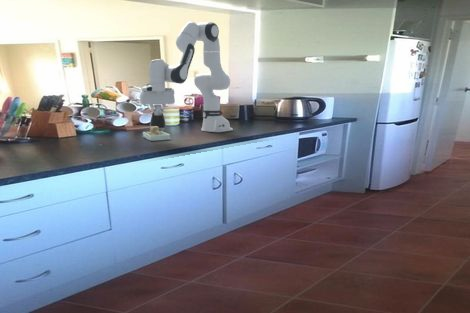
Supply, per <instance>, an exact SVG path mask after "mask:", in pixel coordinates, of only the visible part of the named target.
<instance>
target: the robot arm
mask: <svg viewBox="0 0 470 313" xmlns="http://www.w3.org/2000/svg"><path fill="white" fill-rule="evenodd" d="M219 32H220V30H219V27H218V25H217V23H215V22H213V21H211V22H207V21H206V22H205V21H202V22H198V23H196V22H194V21H187V22H186V24H185V25H184V26H183V27H182V29H181V30H180V32H179V33H178V35H177V36H176V40H175V45H176V47H177V49H178V50H179V51H180V52H182V56H181V59H180V61H179V63H178V64H176V65H170V64H168V63H166V62H165V60H164V59H162V58H158V59H157V58H156V59H152V60H150V61H149V67H148V68H149V69H148V72H149V73H148V74H149V83H148V85H144V86H142V87H141V89H140V90H141V92H140V95H139V102H140V105H149V108H150V109H151V113H153V112H155V109H154V105H161V112H162V113H164V112H165V108H166V107H167V106H166V105H174V104H175V101H176V99H175V90H174V88H172V87H166V83H174V84H180V85H181V84H183V83H185V82H186V80H187V79H188V75H189V70H190V67H191V64H192V62H193V58H194V54H195V51H196V50H195V49H196V48H195V45H196V44H197V42H198V41H200V42H203V48H202V50H203V51H202V52H203V65H204V66H205V67H206V68H208V69H209V71H210V72H201V73H197V74H196V75H195V76H194V82H193V83H194V85H195V87H196V88H197V89H198V90H199V92H200V93H201V96H202V100H203V110H202V118H203V120H202V126H201V129H200V130H201V131H203V132H210V133H211V132H212V133H222V132H231V131H234V129H233V127H231V125H230V121H229V120H228V119H227V118H225V117H224V114H225V111H224V110H220V108H221V106H220V105H221V100H220V97H219V96H217V95H216V94H215V93H214V91H223V90H227V89H228V88H229V87H230V86H231V79H230V76H228V74H227V73H226V72H225V71H224V70H223V67H222V64H221V53H220V52H221V49H220V48H221V46H220V40H219Z"/></svg>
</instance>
